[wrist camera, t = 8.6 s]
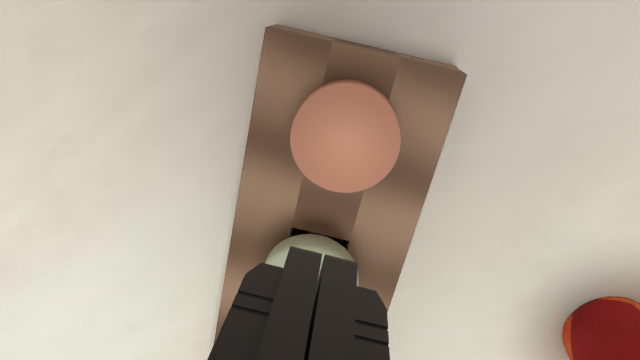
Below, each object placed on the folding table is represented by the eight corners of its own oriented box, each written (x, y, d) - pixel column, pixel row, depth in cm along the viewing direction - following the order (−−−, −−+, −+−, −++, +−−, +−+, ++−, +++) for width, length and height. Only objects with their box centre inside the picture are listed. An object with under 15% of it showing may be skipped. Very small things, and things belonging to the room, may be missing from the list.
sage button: (282, 200, 27) (265, 242, 22) (369, 221, 27) (369, 267, 22) (267, 274, 29) (248, 326, 24) (348, 293, 29) (344, 350, 24)
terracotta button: (313, 61, 25) (301, 74, 20) (405, 82, 25) (414, 100, 20) (295, 148, 27) (280, 178, 22) (381, 169, 27) (384, 203, 22)
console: (276, 24, 25) (265, 27, 22) (455, 66, 25) (466, 74, 22) (219, 357, 34) (206, 389, 31) (350, 389, 34) (349, 424, 31)
